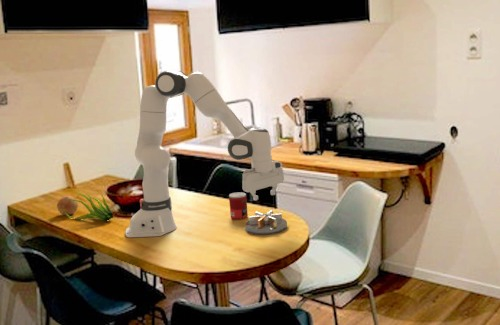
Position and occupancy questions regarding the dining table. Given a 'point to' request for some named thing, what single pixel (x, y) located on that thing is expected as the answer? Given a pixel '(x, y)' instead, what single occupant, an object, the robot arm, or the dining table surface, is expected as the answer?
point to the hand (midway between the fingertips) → (264, 197)
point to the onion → (67, 205)
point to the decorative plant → (95, 209)
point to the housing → (266, 228)
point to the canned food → (238, 205)
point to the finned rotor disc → (265, 219)
